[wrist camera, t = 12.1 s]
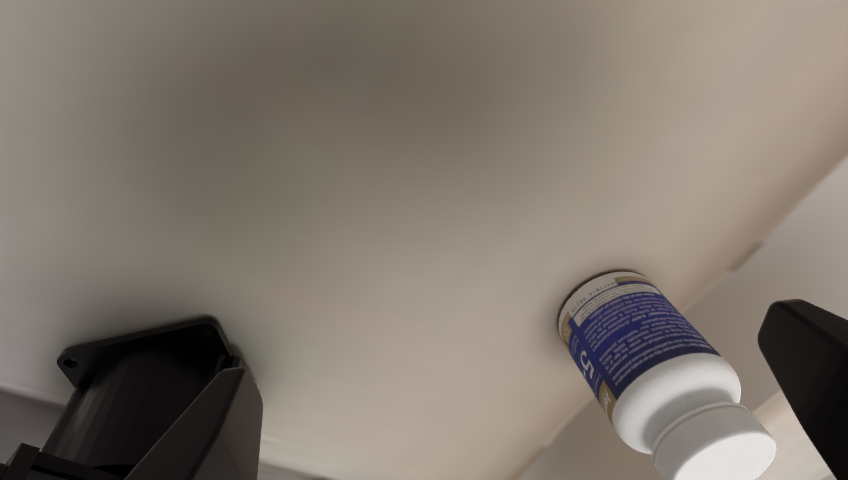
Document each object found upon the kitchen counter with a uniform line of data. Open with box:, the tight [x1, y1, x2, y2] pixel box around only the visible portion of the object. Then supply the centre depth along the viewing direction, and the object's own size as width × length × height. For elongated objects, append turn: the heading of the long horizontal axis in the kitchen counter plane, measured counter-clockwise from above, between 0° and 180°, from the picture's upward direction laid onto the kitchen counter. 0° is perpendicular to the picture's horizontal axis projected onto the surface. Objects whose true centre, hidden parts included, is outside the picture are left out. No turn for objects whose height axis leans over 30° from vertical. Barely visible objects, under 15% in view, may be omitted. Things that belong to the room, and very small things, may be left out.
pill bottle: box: [559, 272, 776, 480], centre depth 21 cm, size 5×5×9 cm
